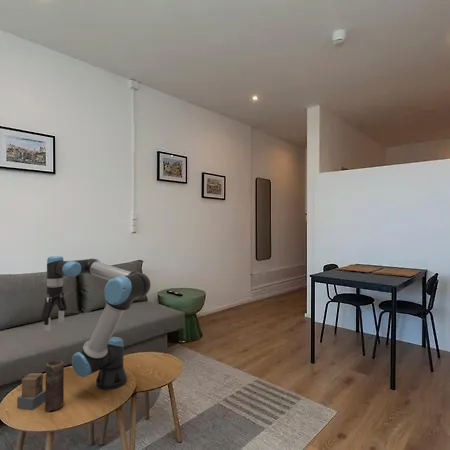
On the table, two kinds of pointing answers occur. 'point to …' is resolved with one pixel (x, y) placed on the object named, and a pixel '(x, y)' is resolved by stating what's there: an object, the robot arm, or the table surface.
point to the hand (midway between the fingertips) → (54, 326)
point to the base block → (31, 401)
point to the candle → (54, 385)
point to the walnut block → (32, 385)
